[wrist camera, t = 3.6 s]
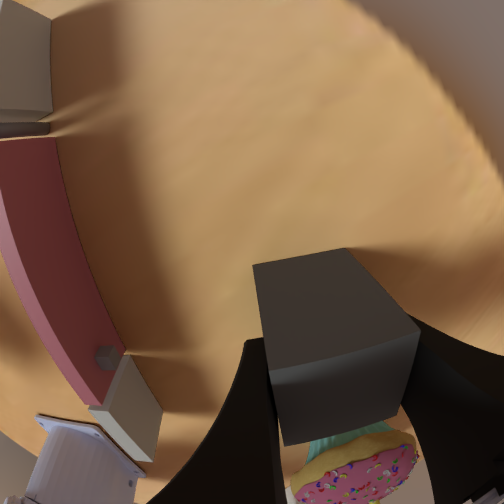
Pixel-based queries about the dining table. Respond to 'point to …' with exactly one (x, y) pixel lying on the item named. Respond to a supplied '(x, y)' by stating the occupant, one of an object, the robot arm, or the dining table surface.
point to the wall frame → (24, 124)
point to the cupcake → (355, 466)
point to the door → (54, 268)
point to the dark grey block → (332, 345)
